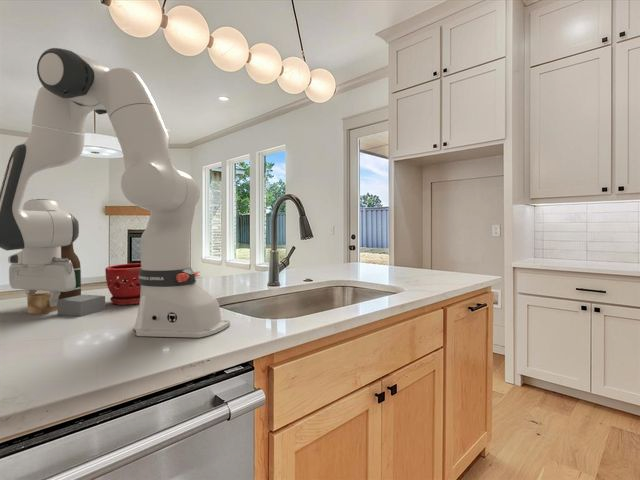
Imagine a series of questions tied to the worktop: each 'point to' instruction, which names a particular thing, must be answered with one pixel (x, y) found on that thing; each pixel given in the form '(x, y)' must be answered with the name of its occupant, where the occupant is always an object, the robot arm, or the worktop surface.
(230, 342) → the worktop surface
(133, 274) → the plant pot
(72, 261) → the beer bottle
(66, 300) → the block
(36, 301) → the oak cube
